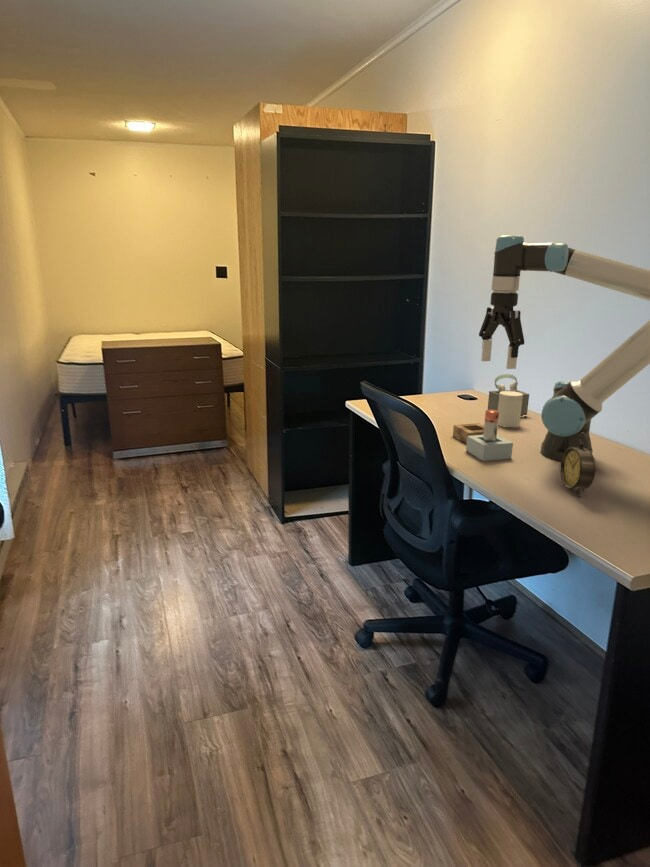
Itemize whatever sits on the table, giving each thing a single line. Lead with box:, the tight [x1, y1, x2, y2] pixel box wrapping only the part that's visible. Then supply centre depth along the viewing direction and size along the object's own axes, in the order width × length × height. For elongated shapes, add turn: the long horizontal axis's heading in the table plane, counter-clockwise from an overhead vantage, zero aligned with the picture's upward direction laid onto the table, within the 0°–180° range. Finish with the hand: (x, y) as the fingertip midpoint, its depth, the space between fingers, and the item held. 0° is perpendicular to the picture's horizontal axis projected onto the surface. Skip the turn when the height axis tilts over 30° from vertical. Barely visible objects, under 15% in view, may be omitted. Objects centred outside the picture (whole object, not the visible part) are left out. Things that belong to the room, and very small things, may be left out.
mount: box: [452, 422, 484, 445], centre depth 200 cm, size 10×10×4 cm
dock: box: [465, 434, 514, 462], centre depth 184 cm, size 10×10×5 cm
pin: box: [483, 409, 499, 443], centre depth 183 cm, size 4×4×14 cm
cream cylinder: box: [498, 391, 523, 428], centre depth 217 cm, size 8×8×12 cm
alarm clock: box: [559, 432, 597, 498], centre depth 154 cm, size 11×5×16 cm, turn 3°
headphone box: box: [487, 389, 530, 416], centre depth 232 cm, size 8×12×9 cm
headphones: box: [494, 373, 519, 392], centre depth 228 cm, size 8×4×20 cm
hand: (498, 364), depth 177 cm, fingers open, 13 cm apart
